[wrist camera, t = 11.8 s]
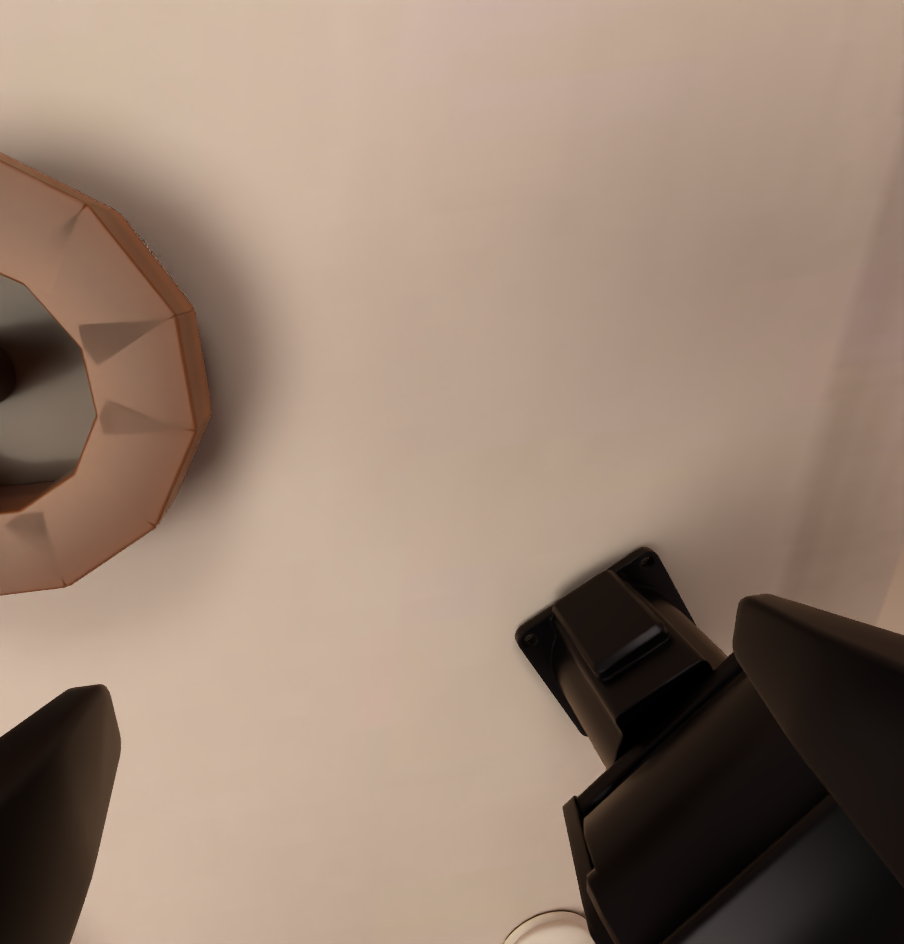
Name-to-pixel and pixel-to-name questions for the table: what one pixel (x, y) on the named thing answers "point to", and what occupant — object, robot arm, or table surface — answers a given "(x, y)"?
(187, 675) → the table surface
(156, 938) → the table surface
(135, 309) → the ring
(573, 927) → the chess piece
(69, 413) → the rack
